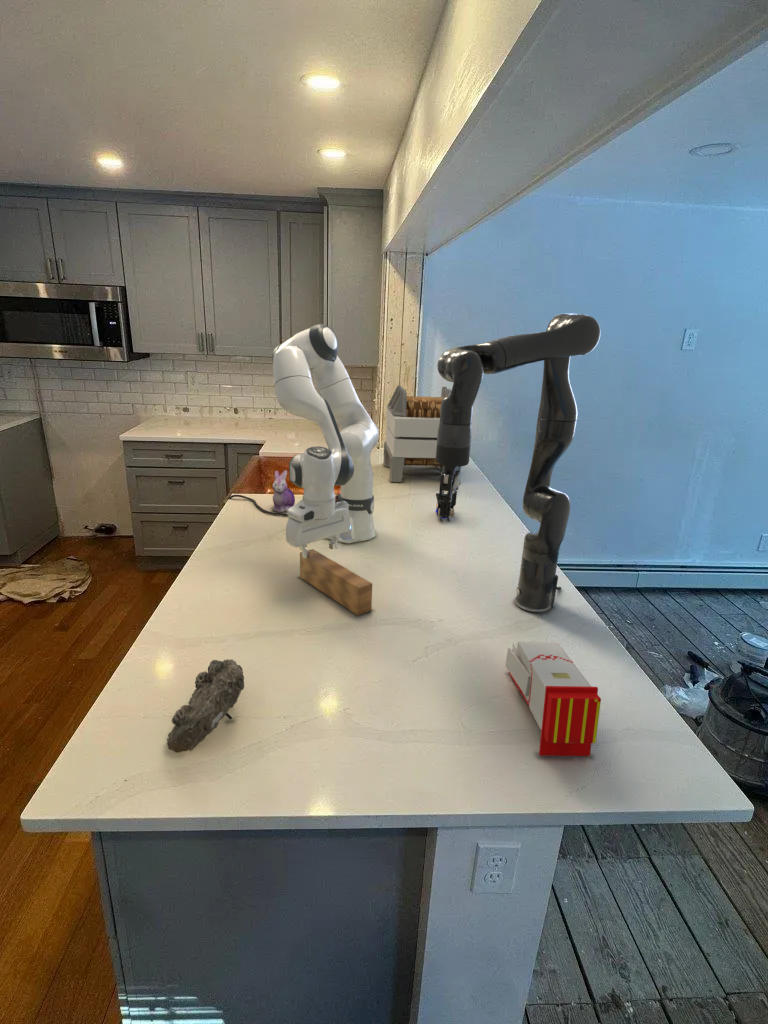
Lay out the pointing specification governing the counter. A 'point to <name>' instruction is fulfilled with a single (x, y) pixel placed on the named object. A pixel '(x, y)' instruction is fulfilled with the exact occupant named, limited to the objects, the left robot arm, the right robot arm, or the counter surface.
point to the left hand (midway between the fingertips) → (319, 552)
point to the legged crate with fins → (411, 432)
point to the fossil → (206, 705)
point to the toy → (556, 697)
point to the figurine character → (439, 508)
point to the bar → (337, 582)
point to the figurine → (282, 493)
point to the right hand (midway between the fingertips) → (447, 510)
